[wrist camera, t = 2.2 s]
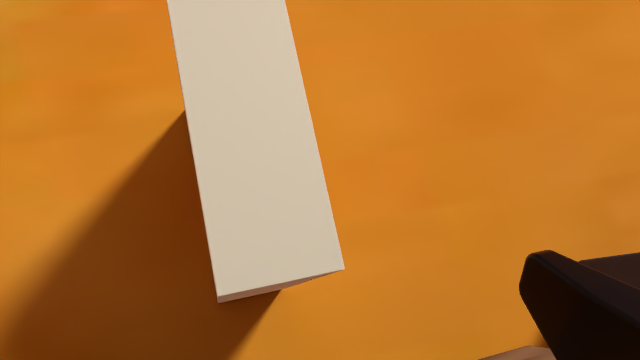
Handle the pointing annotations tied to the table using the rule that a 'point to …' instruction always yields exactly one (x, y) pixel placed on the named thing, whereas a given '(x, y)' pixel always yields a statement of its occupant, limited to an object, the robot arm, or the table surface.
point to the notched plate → (253, 147)
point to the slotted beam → (524, 354)
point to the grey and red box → (618, 267)
